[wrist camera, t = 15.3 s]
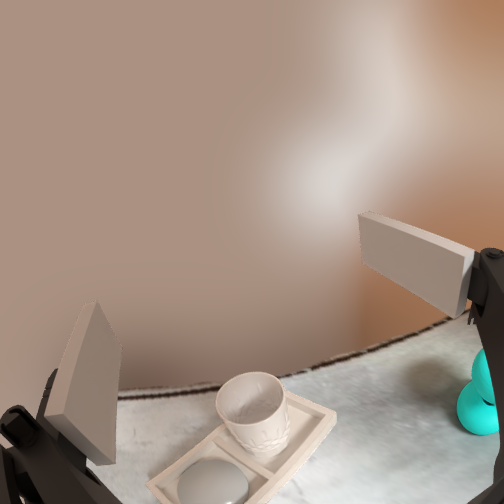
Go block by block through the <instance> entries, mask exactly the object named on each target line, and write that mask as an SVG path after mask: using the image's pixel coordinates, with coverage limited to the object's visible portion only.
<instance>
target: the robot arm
mask: <svg viewBox="0 0 504 504" xmlns="http://www.w3.org/2000/svg"><path fill="white" fill-rule="evenodd" d="M358 219H359V230H360V241H361V258H362V263H363V264H365V265H366V266H368V267H370V268H371V269H373V270H375V271H377V272H378V273H380V274H382V275H383V276H385V277H387V278H388V279H390V280H392V281H393V282H395V283H397V284H398V285H400V286H402V287H403V288H405V289H407V290H408V291H410V292H412V293H413V294H415V295H417V296H418V297H420V298H421V299H423V300H425V301H426V302H428V303H429V304H431V305H433V306H434V307H436V308H437V309H439V310H440V311H442V312H443V313H445V314H447V315H448V316H450V317H451V318H453V319H454V320H455V319H456V318H457V317H458V316H459V315H461V314H462V313H463V312H464V311H465V306H466V302H467V298H468V299H469V300H471V301H472V305H471V309H470V313H469V318H468V325H470V322H471V319H472V318H474V322H473V324H476V325H477V329H478V332H479V335H480V338H481V342H482V345H483V349H484V353H485V356H486V360H487V364H488V368H489V373H490V377H491V382H492V387H493V392H494V397H495V403H496V410H497V417H498V424H499V434H500V450H499V453H498V456H497V458H496V461H495V465H494V479H493V484H492V485H491V486H490V487H489V488H487V489H486V490H485V491H483V492H482V493H481V494H479V495H478V496H477V497H475V498H474V499H472V500H471V501H469V502H468V503H467V504H504V252H503V251H502V250H499V249H496V248H485V249H483V250H481V252H480V253H478V252H476V251H474V250H473V249H470V248H468V247H466V246H463V245H461V244H458V243H456V242H453V241H451V240H448V239H446V238H443V237H440V236H438V235H435V234H433V233H430V232H427V231H425V230H422V229H419V228H417V227H414V226H411V225H408V224H406V223H403V222H400V221H397V220H394V219H391V218H388V217H385V216H382V215H379V214H376V213H373V212H370V211H369V212H365V213H362V214H359V215H358ZM121 356H122V346H121V344H120V342H119V341H118V339H117V337H116V335H115V334H114V332H113V330H112V328H111V326H110V324H109V322H108V320H107V318H106V317H105V315H104V313H103V311H102V309H101V307H100V305H99V303H98V300H96V301H93V302H90V303H87V304H84V305H83V307H82V309H81V312H80V314H79V317H78V318H77V321H76V323H75V326H74V328H73V331H72V333H71V336H70V338H69V341H68V343H67V346H66V348H65V351H64V354H63V357H62V359H61V362H60V365H59V368H58V369H55V370H54V371H53V373H52V374H51V376H50V377H49V379H48V381H47V384H46V387H45V389H46V390H44V393H43V398H42V400H41V403H40V406H39V410H38V413H37V416H36V420H35V419H34V418H33V417H32V416H31V414H30V413H29V412H28V411H27V410H26V409H25V408H24V407H23V406H21V405H16V406H13V407H11V408H9V409H8V410H7V411H6V412H5V413H4V414H3V416H2V418H1V419H0V433H1V434H2V435H3V436H4V437H5V438H6V439H7V440H8V441H9V442H10V443H11V444H12V445H13V447H10V448H8V449H5V448H4V447H3V446H2V445H1V444H0V504H23V503H22V501H21V499H20V496H21V497H22V498H24V501H25V504H122V503H121V502H120V501H119V500H118V499H117V498H116V497H115V496H114V495H113V494H112V493H111V491H110V490H109V489H108V488H107V487H106V486H105V485H104V484H103V483H102V482H101V481H100V480H99V478H98V477H97V476H96V475H95V474H94V473H93V472H92V471H91V470H90V469H89V468H88V467H86V459H87V458H88V459H89V460H90V461H92V462H93V463H94V464H95V465H97V466H100V465H110V464H116V415H117V398H118V384H119V374H120V364H121Z"/></svg>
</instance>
